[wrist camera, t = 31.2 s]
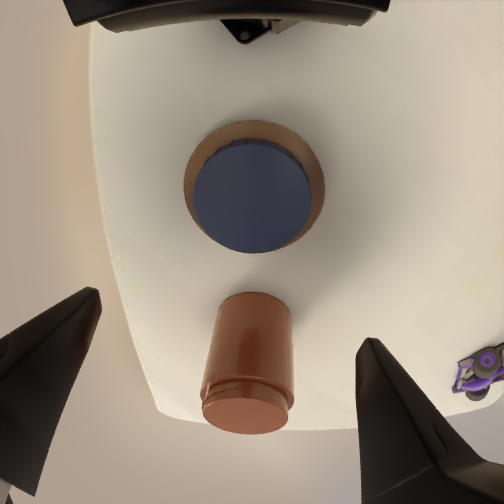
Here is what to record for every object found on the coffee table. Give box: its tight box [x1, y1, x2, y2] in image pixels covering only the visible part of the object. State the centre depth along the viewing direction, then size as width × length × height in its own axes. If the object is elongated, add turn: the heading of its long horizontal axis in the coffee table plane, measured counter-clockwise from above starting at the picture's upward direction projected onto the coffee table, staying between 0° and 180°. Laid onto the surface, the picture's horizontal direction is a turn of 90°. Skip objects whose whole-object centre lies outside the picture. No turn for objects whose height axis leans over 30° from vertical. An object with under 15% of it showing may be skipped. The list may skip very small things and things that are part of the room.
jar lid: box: [193, 138, 312, 253], centre depth 18 cm, size 7×7×2 cm
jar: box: [200, 292, 294, 434], centre depth 22 cm, size 6×6×9 cm
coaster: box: [184, 120, 325, 252], centre depth 19 cm, size 9×9×1 cm
